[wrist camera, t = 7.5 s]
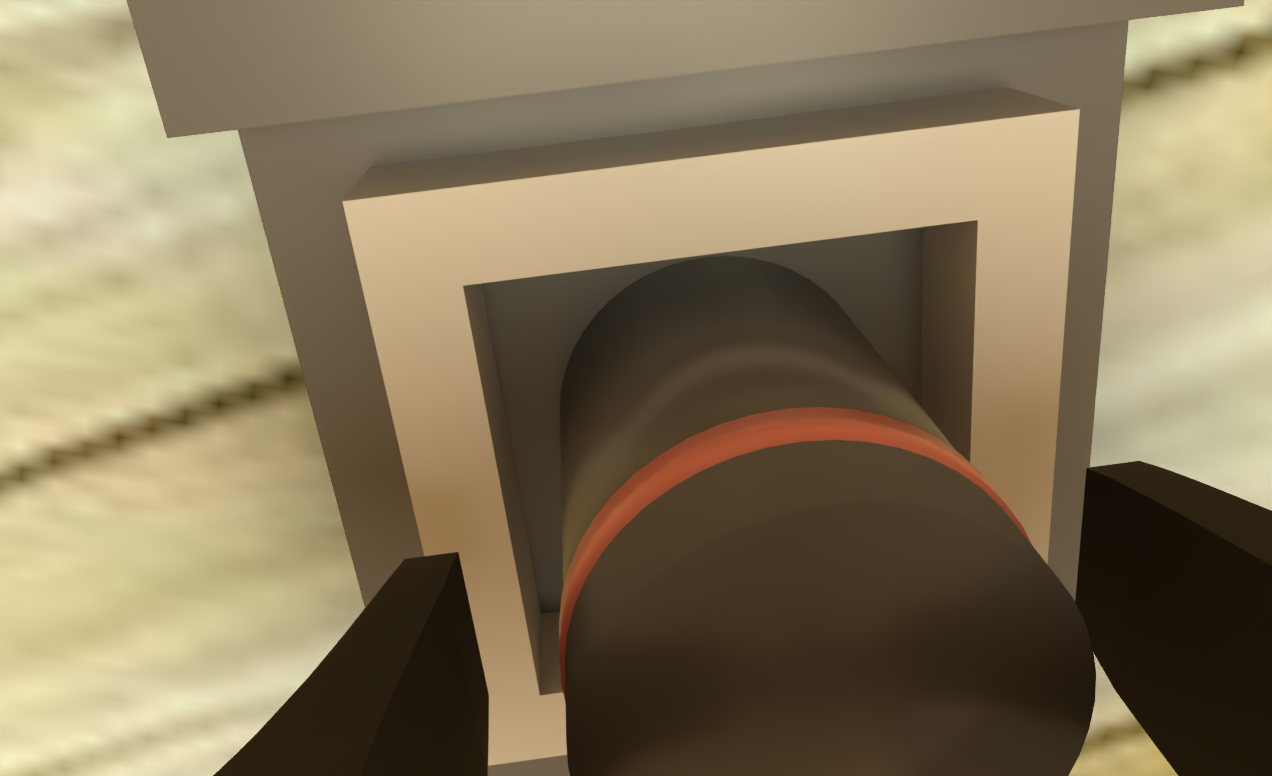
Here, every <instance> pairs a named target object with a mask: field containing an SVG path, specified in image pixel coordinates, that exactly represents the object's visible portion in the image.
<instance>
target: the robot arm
mask: <svg viewBox="0 0 1272 776" xmlns="http://www.w3.org/2000/svg"><path fill="white" fill-rule="evenodd" d="M1075 603H1076V605H1077V607H1078V609H1079V611H1080V613H1081V615H1082V617H1083V619H1084V621H1085V624H1086V627H1087V630H1088V634H1089V637H1090V640H1091V643H1092V647H1093V652H1094V654H1095V656H1096V658H1097V659H1098V661H1099V663H1100V665H1101V666H1102V668H1103V670H1104V671H1105V673H1106V675H1107V677H1108V678H1109V680H1110V682H1111V684H1112V685H1113V687H1114V689H1115V690H1116V692H1117V693H1118V695H1119V696H1120V697H1121V699H1122V700H1123V702H1124V703H1125V704H1126V706H1127V707H1128V709H1129V710H1130V711H1131V713H1132V714H1133V715H1134V717H1135V718H1136V719H1137V721H1138V722H1139V723H1140V725H1141V726H1142V727H1143V729H1144V730H1145V732H1146V733H1147V734H1148V736H1149V737H1150V738H1151V740H1152V741H1153V742H1154V744H1155V745H1156V746H1157V748H1158V749H1159V750H1160V752H1161V753H1162V754H1163V756H1164V757H1165V758H1166V760H1167V761H1168V762H1169V764H1170V765H1171V766H1172V768H1173V769H1174V770H1175V772H1176V773H1177V774H1178V776H1272V511H1271V510H1268V509H1266V508H1263V507H1261V506H1258V505H1256V504H1253V503H1251V502H1248V501H1246V500H1243V499H1241V498H1239V497H1236V496H1234V495H1231V494H1229V493H1226V492H1224V491H1221V490H1219V489H1216V488H1214V487H1211V486H1209V485H1206V484H1204V483H1201V482H1198V481H1196V480H1193V479H1191V478H1188V477H1186V476H1183V475H1180V474H1177V473H1175V472H1172V471H1169V470H1166V469H1163V468H1160V467H1157V466H1154V465H1151V464H1147V463H1144V462H1141V461H1135V462H1128V463H1120V464H1113V465H1105V466H1098V467H1090V468H1086V479H1085V491H1084V503H1083V515H1082V527H1081V539H1080V550H1079V562H1078V574H1077V586H1076V598H1075ZM488 742H489V693H488V689H487V684H486V679H485V674H484V670H483V665H482V660H481V656H480V651H479V646H478V642H477V637H476V632H475V628H474V623H473V618H472V614H471V609H470V604H469V600H468V595H467V590H466V585H465V581H464V576H463V571H462V567H461V562H460V557H459V553H458V552H453V553H446V554H438V555H431V556H423V557H416V558H408V559H404V560H403V562H402V563H401V564H400V565H399V566H398V568H397V569H396V570H395V571H394V572H393V574H392V575H391V576H390V577H389V578H388V580H387V581H386V582H385V583H384V585H383V586H382V587H381V589H380V590H379V591H378V592H377V594H376V595H375V596H374V597H373V599H372V600H371V601H370V603H369V604H368V605H367V606H366V608H365V609H364V610H363V611H362V613H361V614H360V615H359V617H358V618H357V619H356V620H355V622H354V623H353V624H352V625H351V627H350V628H349V629H348V630H347V632H346V633H345V634H344V635H343V637H342V638H341V639H340V640H339V641H338V643H337V644H336V645H335V646H334V647H333V649H332V650H331V651H330V652H329V653H328V655H327V656H326V657H325V658H324V659H323V661H322V662H321V663H320V664H319V666H318V667H317V668H316V669H315V670H314V672H313V673H312V674H311V675H310V676H309V677H308V679H307V680H306V681H305V682H304V683H303V684H302V685H301V686H300V687H299V688H298V689H297V691H296V692H295V693H294V694H293V695H292V696H291V697H290V698H289V699H288V700H287V701H286V702H285V704H284V705H283V706H282V707H281V708H280V709H279V710H278V711H277V712H276V713H275V714H274V716H273V717H272V718H271V719H270V720H269V721H268V722H267V723H266V724H265V725H264V726H263V728H262V729H261V730H260V731H259V732H258V733H257V734H256V735H255V736H254V737H253V738H252V739H251V740H250V741H249V742H248V743H247V744H246V745H245V746H244V747H243V748H242V749H241V750H240V751H239V752H238V753H237V754H236V755H235V756H234V757H233V758H232V759H230V760H229V761H228V762H227V763H226V764H225V765H224V766H223V767H222V768H221V769H220V770H219V771H218V772H217V773H216V774H214V775H213V776H488Z"/></svg>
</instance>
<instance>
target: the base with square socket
mask: <svg viewBox="0 0 1272 776" xmlns="http://www.w3.org/2000/svg"><path fill="white" fill-rule="evenodd" d="M127 3H128V7H129V10H130V13H131V17H132V20H133V23H134V27H135V30H136V34H137V37H138V40H139V44H140V47H141V51H142V54H143V57H144V61H145V64H146V67H147V71H148V74H149V78H150V81H151V84H152V88H153V91H154V94H155V98H156V101H157V105H158V108H159V111H160V115H161V118H162V121H163V125H164V128H165V132H166V135H167V138H172V137H180V136H188V135H196V134H204V133H213V132H221V131H229V130H237V129H238V132H239V136H240V140H241V144H242V147H243V151H244V155H245V159H246V162H247V166H248V170H249V174H250V177H251V181H252V185H253V189H254V192H255V196H256V200H257V204H258V207H259V211H260V215H261V219H262V222H263V226H264V230H265V234H266V237H267V241H268V245H269V249H270V252H271V256H272V260H273V264H274V267H275V271H276V275H277V279H278V282H279V286H280V290H281V294H282V297H283V301H284V305H285V309H286V312H287V316H288V320H289V324H290V327H291V331H292V335H293V339H294V342H295V346H296V350H297V354H298V357H299V361H300V365H301V369H302V372H303V376H304V380H305V384H306V387H307V391H308V395H309V399H310V402H311V406H312V410H313V414H314V417H315V421H316V425H317V429H318V432H319V436H320V440H321V444H322V447H323V451H324V455H325V459H326V462H327V466H328V470H329V474H330V477H331V481H332V485H333V489H334V492H335V496H336V500H337V504H338V507H339V511H340V515H341V519H342V522H343V526H344V530H345V534H346V537H347V541H348V545H349V549H350V552H351V556H352V560H353V564H354V567H355V571H356V575H357V579H358V582H359V586H360V590H361V594H362V597H363V601H364V605H365V608H366V606H367V605H368V604H369V603H370V601H371V600H372V599H373V597H374V596H375V595H376V594H377V592H378V591H379V590H380V589H381V587H382V586H383V585H384V583H385V582H386V581H387V580H388V578H389V577H390V576H391V575H392V574H393V572H394V571H395V570H396V569H397V568H398V566H399V565H400V564H401V563H402V562H403V560H404V559H408V558H416V557H423V556H431V555H438V554H446V553H453V552H458V553H459V557H460V562H461V567H462V571H463V576H464V581H465V585H466V590H467V595H468V600H469V604H470V609H471V614H472V618H473V623H474V628H475V632H476V637H477V642H478V646H479V651H480V656H481V660H482V665H483V670H484V674H485V679H486V684H487V689H488V693H489V742H488V776H570V773H569V769H568V760H567V744H566V703H565V699H564V694H563V690H562V686H561V673H560V655H559V616H560V606H561V596H562V591H563V545H562V492H561V440H560V399H561V387H562V383H563V379H564V374H565V370H566V367H567V364H568V362H569V359H570V356H571V354H572V351H573V349H574V347H575V345H576V344H577V342H578V340H579V338H580V336H581V335H582V333H583V331H584V330H585V329H586V327H587V326H588V325H589V323H590V322H591V321H592V319H593V318H594V317H595V315H596V314H597V313H598V312H599V311H600V310H601V309H602V308H603V307H604V306H605V305H606V304H607V303H608V302H609V301H610V300H611V299H612V298H614V297H615V296H616V295H617V294H619V293H620V292H621V291H622V290H624V289H625V288H626V287H628V286H629V285H631V284H633V283H634V282H636V281H637V280H639V279H641V278H642V277H644V276H646V275H648V274H650V273H653V272H655V271H657V270H659V269H662V268H664V267H666V266H670V265H673V264H676V263H680V262H683V261H686V260H692V259H698V258H704V257H715V256H736V257H748V258H754V259H759V260H763V261H768V262H772V263H775V264H777V265H780V266H783V267H786V268H788V269H791V270H793V271H795V272H797V273H798V274H800V275H802V276H804V277H806V278H808V279H809V280H811V281H812V282H814V283H815V284H816V285H818V286H819V287H820V288H822V289H823V290H825V291H826V292H827V293H828V294H829V295H830V296H831V297H832V298H833V299H834V300H835V301H836V302H837V303H838V304H839V305H840V307H841V308H842V309H843V310H844V312H845V313H846V314H847V315H848V317H849V318H850V319H851V320H852V321H853V323H854V324H855V325H856V326H857V328H858V329H859V330H860V331H861V333H862V334H863V335H864V336H865V338H866V339H867V340H868V341H869V343H870V344H871V345H872V346H873V348H874V349H875V350H876V351H877V353H878V354H879V355H880V356H881V358H882V359H883V360H884V361H885V363H886V364H887V365H888V366H889V368H890V369H891V370H892V371H893V373H894V374H895V375H896V376H897V378H898V379H899V380H900V381H901V383H902V384H903V385H904V386H905V388H906V389H907V390H908V391H909V393H910V394H911V395H912V396H913V397H914V399H915V400H916V401H917V402H918V404H919V405H920V406H921V407H922V409H923V410H924V411H925V412H926V414H927V415H928V416H929V417H930V419H931V420H932V421H933V422H934V424H935V425H936V426H937V427H938V429H939V430H940V431H941V432H942V434H943V435H944V436H945V437H946V439H947V440H948V441H949V442H950V444H951V445H952V446H953V447H954V449H955V450H956V451H957V452H958V453H960V454H961V455H962V456H963V457H964V458H965V459H966V460H968V461H969V462H970V463H971V464H972V465H973V466H974V467H975V468H976V469H977V470H978V471H979V472H980V473H981V474H982V475H983V477H984V478H985V479H986V480H987V481H988V483H989V484H990V485H991V486H992V488H993V489H994V490H995V491H996V492H997V494H998V495H999V496H1000V497H1001V499H1002V500H1003V501H1004V502H1005V503H1006V505H1007V506H1008V507H1009V509H1010V510H1011V511H1012V513H1013V514H1014V515H1015V517H1016V518H1017V519H1018V521H1019V522H1020V523H1021V525H1022V526H1023V528H1024V530H1025V532H1026V534H1027V536H1028V538H1029V540H1030V542H1031V544H1032V545H1033V547H1034V548H1035V549H1036V551H1037V552H1038V553H1039V554H1040V556H1041V557H1042V558H1043V559H1044V561H1045V562H1046V563H1047V564H1048V566H1049V567H1050V568H1051V569H1052V571H1053V572H1054V573H1055V574H1056V576H1057V577H1058V578H1059V580H1060V581H1061V582H1062V584H1063V585H1064V586H1065V588H1066V589H1067V590H1068V592H1069V593H1070V594H1071V596H1072V597H1073V599H1074V601H1075V598H1076V586H1077V574H1078V562H1079V550H1080V539H1081V527H1082V515H1083V503H1084V491H1085V479H1086V468H1089V466H1090V455H1091V443H1092V432H1093V420H1094V409H1095V397H1096V386H1097V375H1098V363H1099V352H1100V340H1101V329H1102V317H1103V306H1104V295H1105V283H1106V272H1107V260H1108V249H1109V237H1110V226H1111V214H1112V203H1113V192H1114V180H1115V169H1116V157H1117V146H1118V134H1119V123H1120V112H1121V100H1122V89H1123V77H1124V66H1125V54H1126V43H1127V32H1128V20H1132V19H1140V18H1149V17H1157V16H1165V15H1173V14H1181V13H1189V12H1197V11H1206V10H1214V9H1222V8H1230V7H1238V6H1244V0H127Z"/></svg>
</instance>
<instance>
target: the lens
mask: <svg viewBox="0 0 1272 776" xmlns="http://www.w3.org/2000/svg"><path fill="white" fill-rule="evenodd" d="M560 440H561V492H562V545H563V591H562V596H561V606H560V616H559V655H560V673H561V686H562V690H563V694H564V699H565V703H566V744H567V760H568V769H569V773H570V776H1068V775H1069V773H1070V771H1071V770H1072V768H1073V766H1074V764H1075V762H1076V760H1077V758H1078V756H1079V754H1080V752H1081V749H1082V746H1083V744H1084V741H1085V738H1086V735H1087V733H1088V730H1089V726H1090V722H1091V717H1092V712H1093V707H1094V702H1095V685H1096V670H1095V662H1094V654H1093V647H1092V643H1091V640H1090V637H1089V634H1088V630H1087V627H1086V624H1085V621H1084V619H1083V617H1082V615H1081V613H1080V611H1079V609H1078V607H1077V605H1076V603H1075V601H1074V599H1073V597H1072V596H1071V594H1070V593H1069V592H1068V590H1067V589H1066V588H1065V586H1064V585H1063V584H1062V582H1061V581H1060V580H1059V578H1058V577H1057V576H1056V574H1055V573H1054V572H1053V571H1052V569H1051V568H1050V567H1049V566H1048V564H1047V563H1046V562H1045V561H1044V559H1043V558H1042V557H1041V556H1040V554H1039V553H1038V552H1037V551H1036V549H1035V548H1034V547H1033V545H1032V544H1031V542H1030V540H1029V538H1028V536H1027V534H1026V532H1025V530H1024V528H1023V526H1022V525H1021V523H1020V522H1019V521H1018V519H1017V518H1016V517H1015V515H1014V514H1013V513H1012V511H1011V510H1010V509H1009V507H1008V506H1007V505H1006V503H1005V502H1004V501H1003V500H1002V499H1001V497H1000V496H999V495H998V494H997V492H996V491H995V490H994V489H993V488H992V486H991V485H990V484H989V483H988V481H987V480H986V479H985V478H984V477H983V475H982V474H981V473H980V472H979V471H978V470H977V469H976V468H975V467H974V466H973V465H972V464H971V463H970V462H969V461H968V460H966V459H965V458H964V457H963V456H962V455H961V454H960V453H958V452H957V451H956V450H955V449H954V447H953V446H952V445H951V444H950V442H949V441H948V440H947V439H946V437H945V436H944V435H943V434H942V432H941V431H940V430H939V429H938V427H937V426H936V425H935V424H934V422H933V421H932V420H931V419H930V417H929V416H928V415H927V414H926V412H925V411H924V410H923V409H922V407H921V406H920V405H919V404H918V402H917V401H916V400H915V399H914V397H913V396H912V395H911V394H910V393H909V391H908V390H907V389H906V388H905V386H904V385H903V384H902V383H901V381H900V380H899V379H898V378H897V376H896V375H895V374H894V373H893V371H892V370H891V369H890V368H889V366H888V365H887V364H886V363H885V361H884V360H883V359H882V358H881V356H880V355H879V354H878V353H877V351H876V350H875V349H874V348H873V346H872V345H871V344H870V343H869V341H868V340H867V339H866V338H865V336H864V335H863V334H862V333H861V331H860V330H859V329H858V328H857V326H856V325H855V324H854V323H853V321H852V320H851V319H850V318H849V317H848V315H847V314H846V313H845V312H844V310H843V309H842V308H841V307H840V305H839V304H838V303H837V302H836V301H835V300H834V299H833V298H832V297H831V296H830V295H829V294H828V293H827V292H826V291H825V290H823V289H822V288H820V287H819V286H818V285H816V284H815V283H814V282H812V281H811V280H809V279H808V278H806V277H804V276H802V275H800V274H798V273H797V272H795V271H793V270H791V269H788V268H786V267H783V266H780V265H777V264H775V263H772V262H768V261H763V260H759V259H754V258H748V257H736V256H715V257H704V258H698V259H692V260H686V261H683V262H680V263H676V264H673V265H670V266H666V267H664V268H662V269H659V270H657V271H655V272H653V273H650V274H648V275H646V276H644V277H642V278H641V279H639V280H637V281H636V282H634V283H633V284H631V285H629V286H628V287H626V288H625V289H624V290H622V291H621V292H620V293H619V294H617V295H616V296H615V297H614V298H612V299H611V300H610V301H609V302H608V303H607V304H606V305H605V306H604V307H603V308H602V309H601V310H600V311H599V312H598V313H597V314H596V315H595V317H594V318H593V319H592V321H591V322H590V323H589V325H588V326H587V327H586V329H585V330H584V331H583V333H582V335H581V336H580V338H579V340H578V342H577V344H576V345H575V347H574V349H573V351H572V354H571V356H570V359H569V362H568V364H567V367H566V370H565V374H564V379H563V383H562V387H561V399H560Z"/></svg>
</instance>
